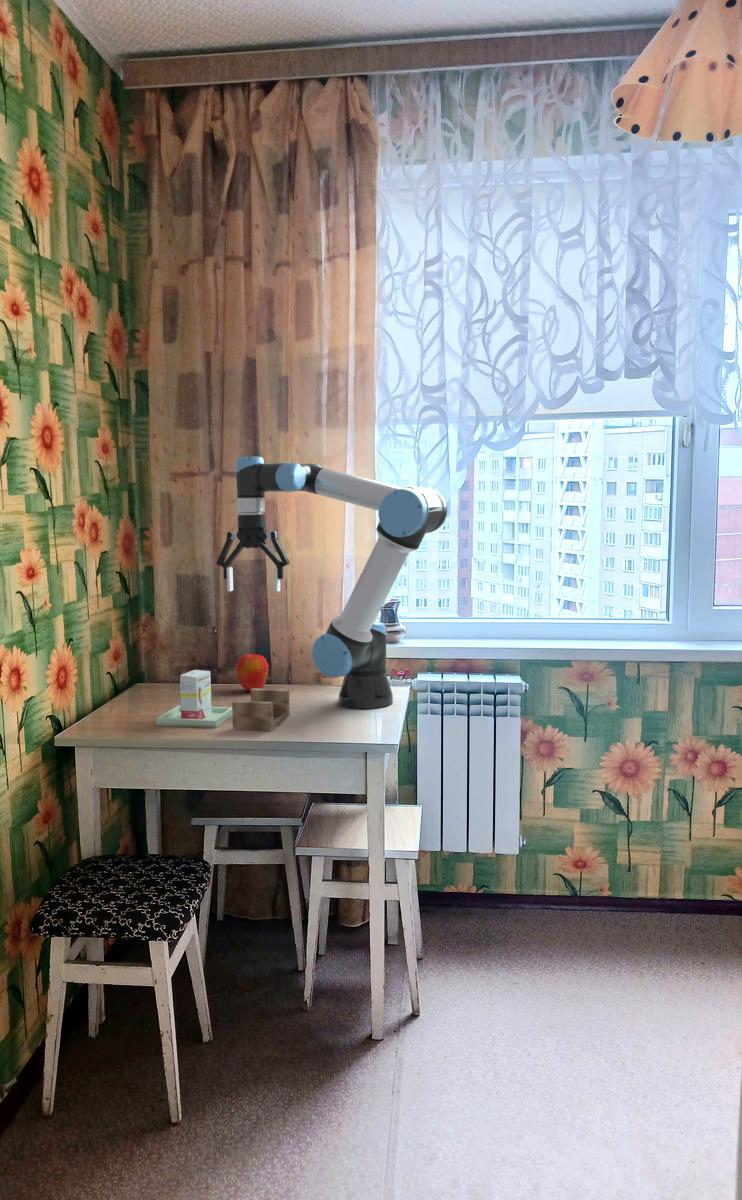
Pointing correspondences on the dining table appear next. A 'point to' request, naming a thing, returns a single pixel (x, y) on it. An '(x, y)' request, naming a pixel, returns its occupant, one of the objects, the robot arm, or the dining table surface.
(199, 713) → the ink box
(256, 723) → the holder
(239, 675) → the apple
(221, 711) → the tray
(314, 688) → the dining table surface
